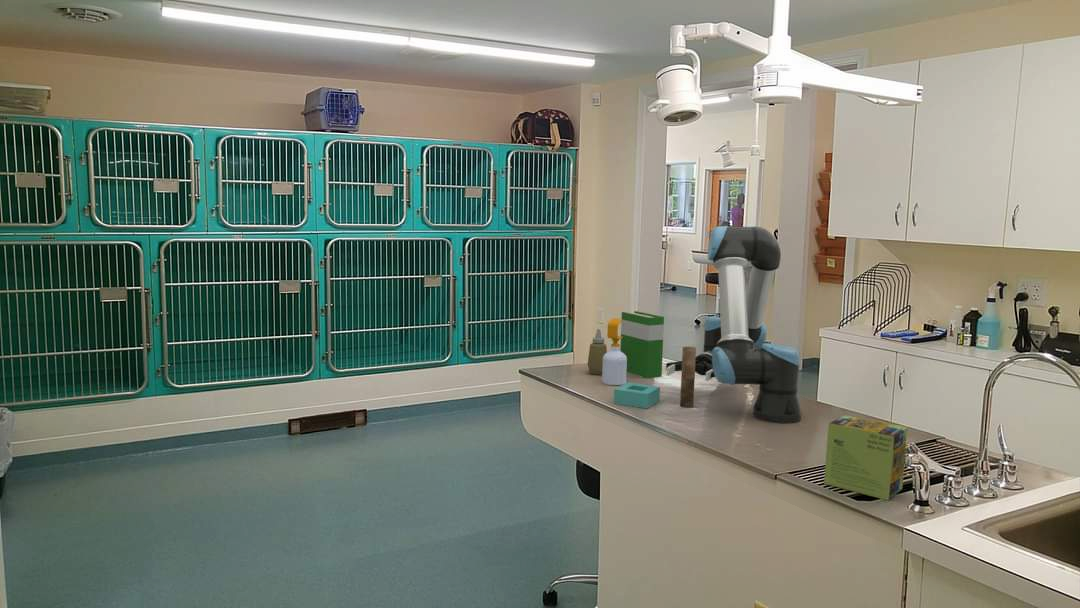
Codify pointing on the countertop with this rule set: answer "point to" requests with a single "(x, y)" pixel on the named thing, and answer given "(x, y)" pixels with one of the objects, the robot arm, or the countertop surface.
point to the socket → (637, 395)
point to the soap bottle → (614, 358)
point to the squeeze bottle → (596, 354)
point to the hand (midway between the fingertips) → (686, 374)
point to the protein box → (865, 456)
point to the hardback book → (642, 343)
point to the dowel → (688, 377)
